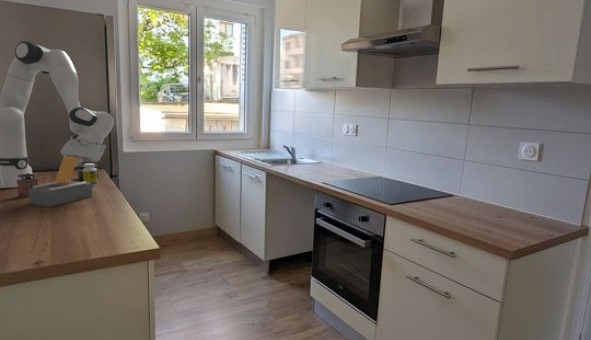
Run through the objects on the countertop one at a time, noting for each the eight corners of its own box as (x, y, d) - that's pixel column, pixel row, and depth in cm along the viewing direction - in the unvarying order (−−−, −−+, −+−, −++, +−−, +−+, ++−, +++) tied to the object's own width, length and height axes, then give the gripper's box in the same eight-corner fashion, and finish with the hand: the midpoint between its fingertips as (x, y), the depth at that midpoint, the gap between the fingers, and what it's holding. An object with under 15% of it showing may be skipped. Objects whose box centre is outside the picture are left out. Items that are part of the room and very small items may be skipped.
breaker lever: (54, 182, 165) (64, 155, 168) (58, 183, 167) (68, 157, 170) (64, 183, 163) (73, 156, 166) (68, 184, 165) (77, 158, 168)
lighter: (38, 193, 176) (36, 171, 175) (40, 194, 174) (38, 173, 172) (17, 196, 171) (15, 173, 169) (18, 197, 169) (16, 175, 167)
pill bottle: (91, 187, 191) (90, 165, 189) (80, 186, 193) (79, 164, 191) (100, 184, 197) (98, 163, 195) (89, 183, 199) (88, 162, 197)
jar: (102, 178, 214) (101, 164, 213) (86, 181, 205) (85, 167, 204) (90, 176, 218) (89, 163, 217) (74, 179, 209) (72, 165, 208)
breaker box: (29, 203, 159) (27, 186, 158) (73, 193, 177) (72, 178, 176) (49, 206, 155) (47, 189, 153) (92, 196, 173) (91, 180, 172)
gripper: (111, 148, 175) (94, 173, 168) (77, 143, 182) (59, 167, 175) (103, 139, 170) (85, 164, 163) (68, 135, 177) (50, 158, 170)
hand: (71, 166), depth 169 cm, fingers closed
